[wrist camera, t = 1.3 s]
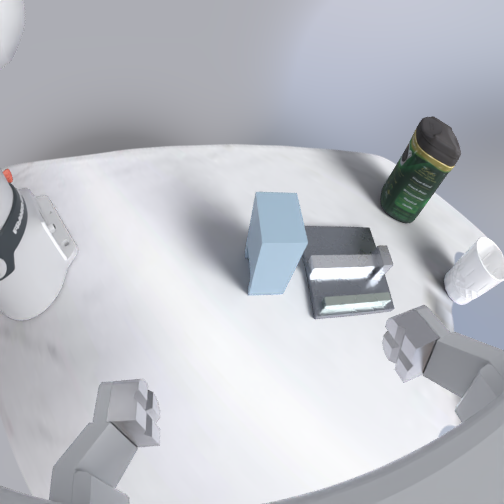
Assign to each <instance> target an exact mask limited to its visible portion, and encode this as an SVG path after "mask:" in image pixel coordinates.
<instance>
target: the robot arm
mask: <svg viewBox="0 0 504 504" xmlns="http://www.w3.org/2000/svg"><path fill="white" fill-rule="evenodd" d="M24 24H25V7H24V2H23V0H0V70H1V69H2V68H3V67H5V66H6V65H7V64H8V63H10V61H11V60H12V58H13V56H14V54H15V52H16V50H17V48H18V46H19V43H20V41H21V37H22V34H23V30H24ZM12 181H13V178H12V174H11V172H10V170H9V169H6V170H5V171H4V172H2V170H1V168H0V310H1V312H2V313H3V314H5V315H6V316H7V317H9V318H11V319H14V320H28V319H31V318H34V317H36V316H38V315H39V314H41V313H42V312H43V311H45V310H46V309H47V308H48V307H49V306H50V305H51V304H52V302H53V301H54V300H55V298H56V297H57V295H58V294H59V292H60V290H61V288H62V285H63V283H64V280H65V276H66V272H67V269H68V267H69V265H70V264H71V262H72V261H73V260H74V258H75V257H76V255H77V253H78V247H77V245H76V243H75V242H74V240H73V238H72V237H71V235H70V233H69V232H68V230H67V228H66V227H65V225H64V223H63V222H62V220H61V218H60V216H59V215H58V213H57V211H56V209H55V207H54V206H53V204H52V202H51V200H50V199H49V197H48V196H38V197H34V195H33V193H32V192H31V190H30V189H27V188H22V189H17V188H15V187H14V186H13V185H12V184H11V182H12ZM67 244H68V245H67ZM66 245H67V246H66ZM385 327H386V328H387V330H388V331H387V332H386V333H385V335H384V336H383V342H382V344H383V350H384V352H385V355H386V357H387V358H388V360H389V361H391V362H394V363H396V364H395V371H396V372H397V374H398V375H399V377H400V378H401V380H402V381H403V383H404V382H407V381H409V380H411V379H414V378H416V377H418V376H420V375H423V376H425V377H426V378H428V379H430V380H431V381H433V382H435V383H437V384H438V385H440V386H442V387H444V388H445V389H447V390H449V391H451V392H452V393H454V394H456V395H458V396H459V397H461V398H462V399H461V400H460V402H459V403H458V405H457V406H456V408H455V412H456V414H457V415H458V417H459V419H460V420H461V422H462V423H461V424H459V425H458V426H456V427H455V428H453V429H452V430H450V431H448V432H447V433H445V434H444V435H442V436H440V437H439V438H437V439H435V440H433V441H432V442H430V443H428V444H426V445H424V446H423V447H421V448H419V449H417V450H415V451H413V452H411V453H409V454H407V455H405V456H403V457H401V458H399V459H397V460H395V461H393V462H391V463H389V464H386V465H384V466H382V467H380V468H377V469H375V470H373V471H370V472H368V473H365V474H363V475H360V476H358V477H355V478H353V479H350V480H347V481H344V482H341V483H339V484H336V485H333V486H330V487H327V488H323V489H320V490H317V491H313V492H310V493H306V494H303V495H299V496H295V497H291V498H287V499H283V500H278V501H274V502H269V503H264V504H504V350H501V349H498V348H496V347H493V346H490V345H487V344H485V343H482V342H480V341H477V340H475V339H472V338H469V337H467V336H464V335H461V334H459V333H456V332H452V333H451V332H450V331H449V330H448V329H447V328H446V327H445V325H444V324H443V323H442V322H441V321H440V320H439V319H438V318H437V317H436V315H435V314H434V313H433V312H432V311H431V310H430V309H429V308H428V307H427V306H425V305H422V306H420V307H417V308H415V309H412V310H409V311H406V312H404V313H401V314H399V315H396V316H394V317H391V318H389V319H388V320H387V321H386V326H385ZM159 418H160V408H159V403H158V400H157V398H156V396H155V394H154V393H153V392H151V391H149V390H148V384H147V383H146V381H145V380H144V379H134V380H123V381H111V382H102V383H101V384H100V385H99V389H98V394H97V399H96V405H95V411H94V417H93V423H88V425H87V426H86V427H85V428H84V429H83V431H82V432H81V433H80V434H79V436H78V437H77V438H76V439H75V440H74V442H73V443H72V444H71V445H70V447H69V448H68V449H67V450H66V452H65V453H64V454H63V455H62V456H61V458H60V459H59V460H58V461H57V463H56V464H55V465H54V466H53V471H52V479H51V487H50V496H49V500H46V499H42V498H38V497H34V496H31V495H27V494H23V493H21V492H18V491H14V490H11V489H8V488H6V487H3V486H0V504H130V503H129V497H128V496H127V495H126V494H124V493H123V492H121V491H119V490H117V489H115V488H116V486H117V484H118V483H119V481H120V479H121V477H122V476H123V474H124V472H125V470H126V468H127V467H128V465H129V463H130V461H131V460H132V458H133V456H134V454H135V453H136V451H137V449H138V448H137V447H148V446H159V445H160V428H159V427H158V426H157V425H156V422H157V421H158V420H159Z"/></svg>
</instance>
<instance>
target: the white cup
mask: <svg viewBox="0 0 504 504" xmlns="http://www.w3.org/2000/svg"><path fill="white" fill-rule="evenodd" d="M503 280H504V256H503V254H502V252H501V251H500V249H499V248H498V246H497V245H496V244H495V243H494V242H493V241H491V240H490V239H488V238H486V237H480V238H479V239H478V240H477V241H476V242H475V243H474V244H473V245H472V246H471V248H470V249H469V250H468V251H467V252H466V253H465V254H464V255H463V256H462V257H461V258H460V259H459V260H458V262H457V263H455V265H454V266H453V267H452V268H451V269H450V270H449V271H448V272H447V273H446V275H445V279H444V284H445V289H446V291H447V293H448V296H449V297H450V298H451V299H452V300H453V301H454V302H455V303H457V304H459V305H462V304H466V303H468V302H470V301H471V300H473V299H475V298H477V297H478V296H480V295H482V294H483V293H485V292H487V291H488V290H490V289H491V288H493V287H494V286H496V285H497V284H499V283H500V282H502V281H503Z"/></svg>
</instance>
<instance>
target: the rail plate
mask: <svg viewBox="0 0 504 504" xmlns="http://www.w3.org/2000/svg"><path fill="white" fill-rule="evenodd" d="M304 227H305V231H306V235H307V240H308V244H307V246H306V248H305V250H304V252H303V258H304V263H305V269H306V274H307V279H308V285H309V290H310V295H311V301H312V307H313V312H314V318H315V319H322V318H333V317H344V316H354V315H364V314H372V313H381V312H389V311H392V310H393V309H394V305H393V302H392V298H391V294H390V291H389V287H388V284H387V281H386V277H385V273H386V272H387V271H388V270H389V269H390V268H391V267H392V266H393V262H392V259H391V256H390V253H389V250H388V247H387V246H377V247H376V246H375V243H374V240H373V237H372V234H371V231H370V228H363V227H319V226H304Z"/></svg>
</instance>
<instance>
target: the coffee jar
mask: <svg viewBox="0 0 504 504" xmlns="http://www.w3.org/2000/svg"><path fill="white" fill-rule="evenodd" d="M460 155H461V151H460V147H459V143H458V141H457V138H456V136H455V135H454V133H453V131H452V128H451V127H449V126H448V125H446V124H445V123H443V122H442V121H440V120H439V119H437V118H435V117H426V118H423V119H422V120H421V122H420V123H419V125H418V126H417V128H416V130H415V132H414V134H413V136H412V138H411V140H410V142H409V144H408V146H407V148H406V149H405V151H404V153H403V154H402V156H401V158H400V160H399V161H398V163H397V165H396V166H395V168H394V170H393V171H392V173H391V174H390V176H389V178H388V179H387V181H386V183H385V184H384V186H383V189H382V193H381V206H382V208H383V209H384V210H385V211H386V212H387V213H388V214H389V215H390V216H391V217H393V218H394V219H396V220H399V221H401V222H405V223H411V222H413V221H414V220H415V218H416V217H417V216H418V215H419V213H420V212H421V210H422V209H423V208H424V206H425V205H426V203H427V202H428V201H429V199H430V198H431V196H432V195H433V194H434V192H435V191H436V189H437V188H438V187H439V185H440V184H441V182H442V181H443V179H444V178H445V177H446V175H447V174H448V173H449V172H450V171H451V170H452V168H453V167H454V166H455V164H456V162H457V160H458V159H459V157H460Z"/></svg>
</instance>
